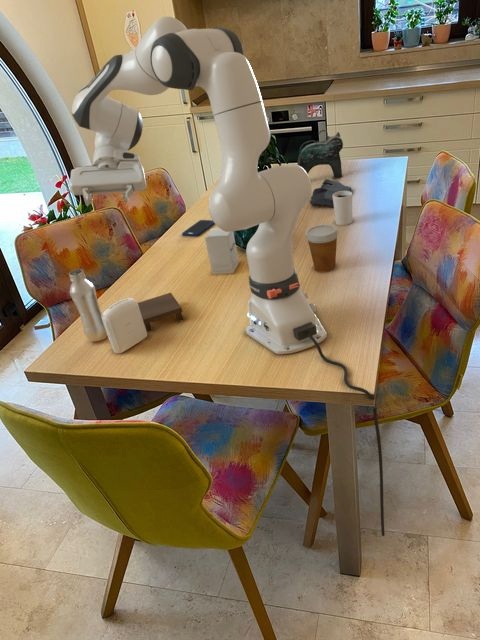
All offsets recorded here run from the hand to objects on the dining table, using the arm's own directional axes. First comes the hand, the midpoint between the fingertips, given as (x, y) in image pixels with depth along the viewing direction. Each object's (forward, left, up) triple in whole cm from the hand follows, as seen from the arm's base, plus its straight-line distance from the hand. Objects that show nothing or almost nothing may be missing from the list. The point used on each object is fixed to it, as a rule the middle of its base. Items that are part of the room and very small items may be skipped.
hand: (107, 201), depth 149 cm
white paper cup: (+15, -78, -32) cm, 86 cm away
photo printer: (-20, +7, -32) cm, 38 cm away
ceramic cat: (+64, -96, -32) cm, 120 cm away
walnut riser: (-11, -4, -32) cm, 34 cm away
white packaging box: (+7, -30, -32) cm, 45 cm away
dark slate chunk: (+40, -86, -32) cm, 100 cm away
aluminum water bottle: (-11, +14, -32) cm, 37 cm away
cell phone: (+47, -34, -32) cm, 67 cm away
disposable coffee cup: (-13, -55, -32) cm, 65 cm away
